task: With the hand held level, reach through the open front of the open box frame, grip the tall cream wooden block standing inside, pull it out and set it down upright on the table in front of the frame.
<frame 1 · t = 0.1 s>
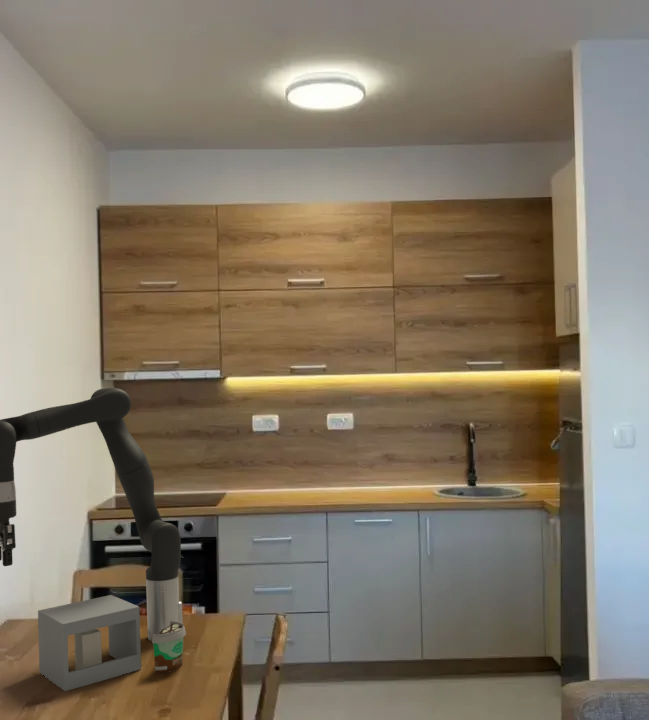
hand: (2, 563, 198), 29 cm above the table, tool pointing down, fingers open, 8 cm apart
open box frame: (90, 671, 200), on the table
cream block: (88, 670, 201), on the table
food container: (174, 667, 201), on the table
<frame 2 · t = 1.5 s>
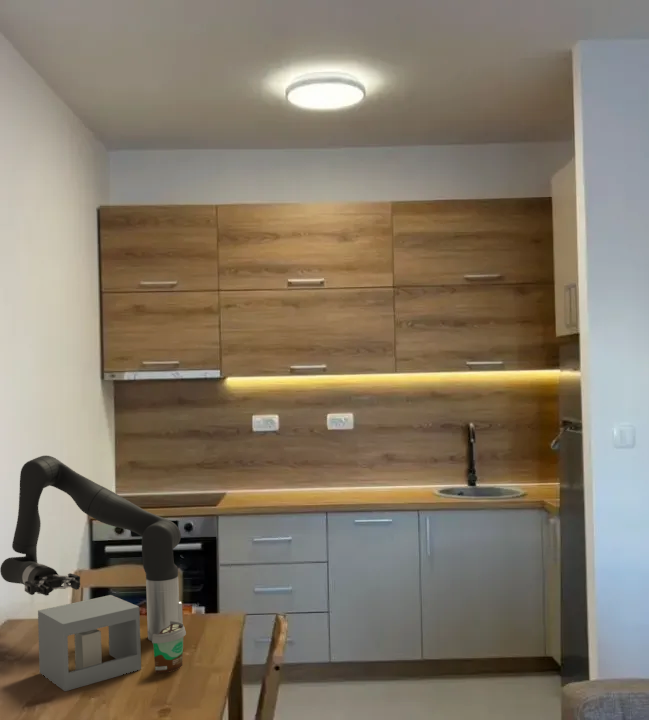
hand: (63, 588, 213), 18 cm above the table, tool horizontal, fingers open, 8 cm apart
nothing on the table moved.
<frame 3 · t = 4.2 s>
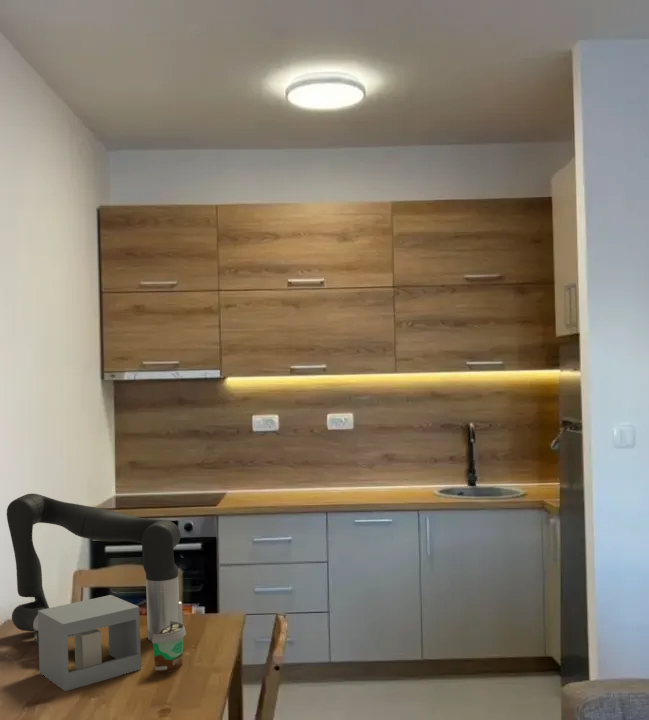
hand: (73, 638, 208), 6 cm above the table, tool horizontal, fingers open, 8 cm apart
nothing on the table moved.
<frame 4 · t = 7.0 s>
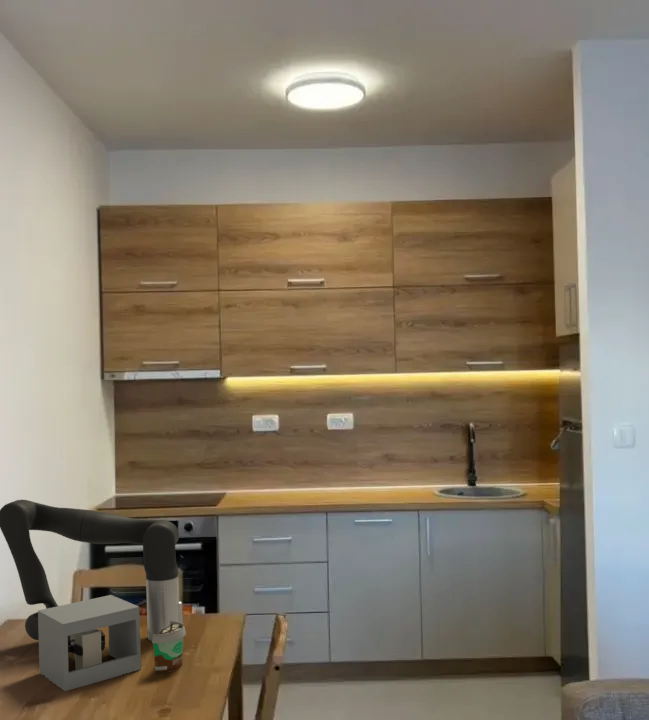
hand: (92, 649, 199), 6 cm above the table, tool horizontal, fingers closed on cream block, 5 cm apart
cream block: (88, 670, 201), on the table, touching gripper
everything else where it was.
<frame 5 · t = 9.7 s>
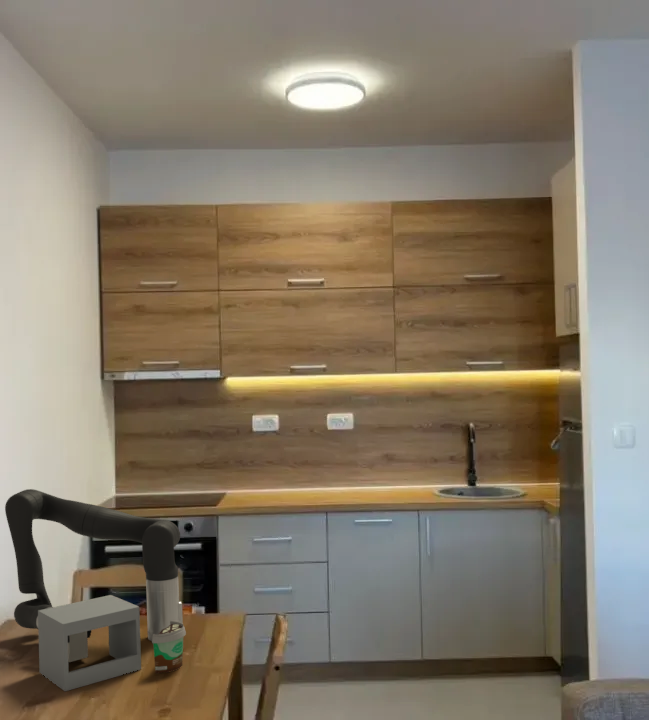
hand: (78, 636, 206), 7 cm above the table, tool horizontal, fingers closed on cream block, 5 cm apart
cream block: (75, 657, 207), point 1 cm above the table, touching gripper
everything else where it was.
when the fingers open (7 cm above the table, at t = 12.6 s): cream block stays where it is, on the table.
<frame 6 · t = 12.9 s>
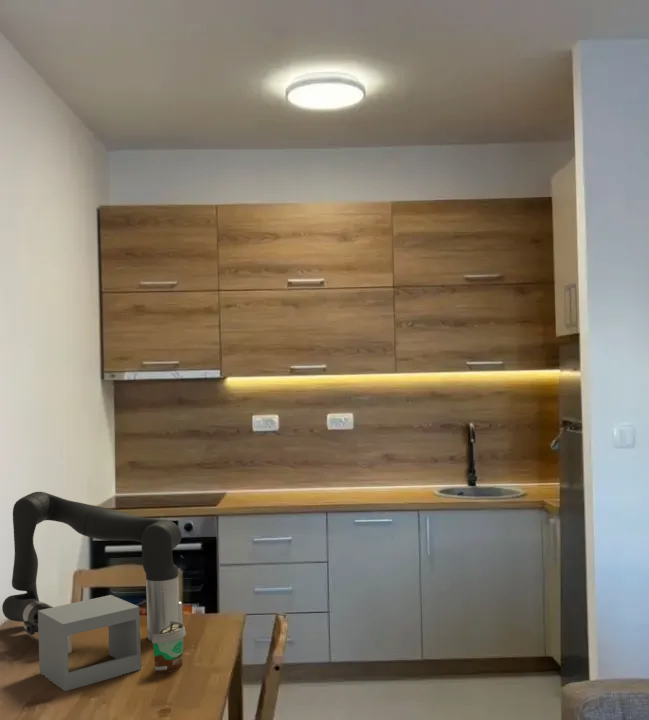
hand: (61, 628, 215), 7 cm above the table, tool horizontal, fingers open, 7 cm apart
cream block: (59, 652, 216), on the table
everything else where it was.
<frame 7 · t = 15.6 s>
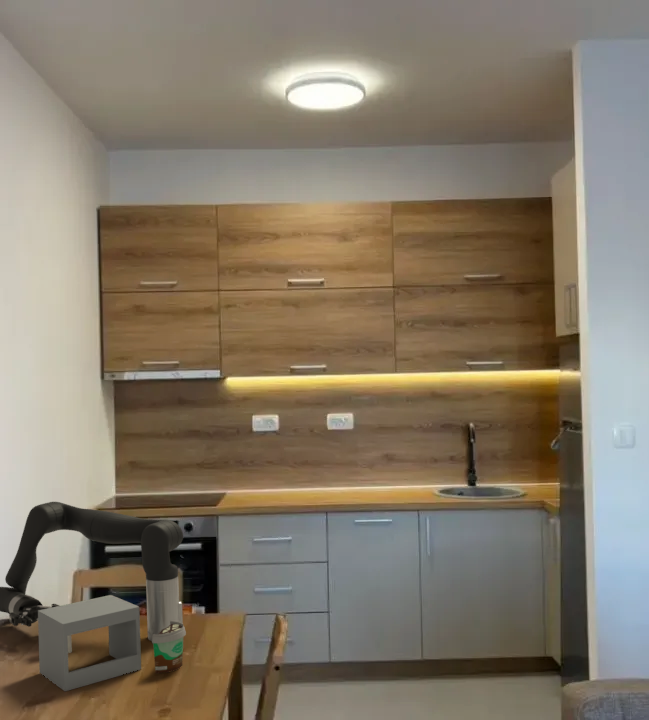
hand: (45, 619, 224), 7 cm above the table, tool horizontal, fingers open, 8 cm apart
nothing on the table moved.
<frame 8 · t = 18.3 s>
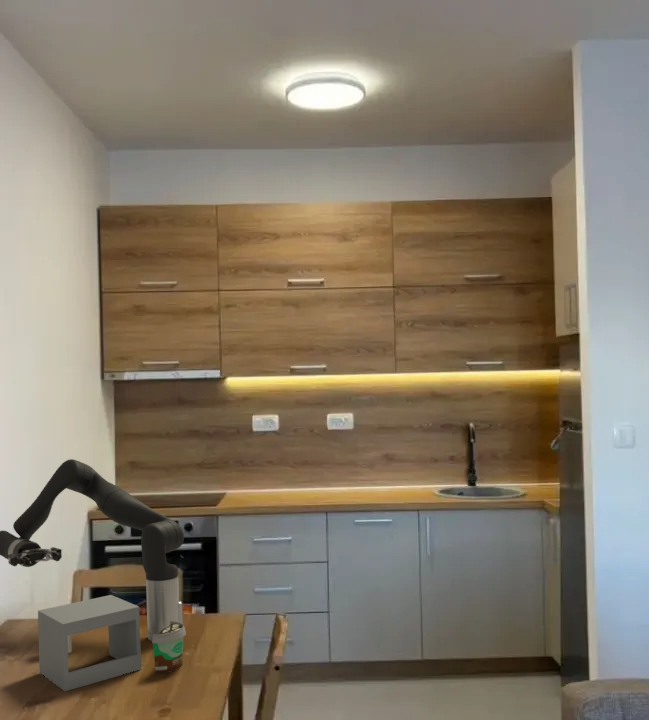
hand: (43, 560, 224), 24 cm above the table, tool horizontal, fingers open, 8 cm apart
nothing on the table moved.
at the end: cream block inside the target area (0.5 cm from its centre), on the table; cream block tilted 0°; the gripper is holding nothing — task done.
